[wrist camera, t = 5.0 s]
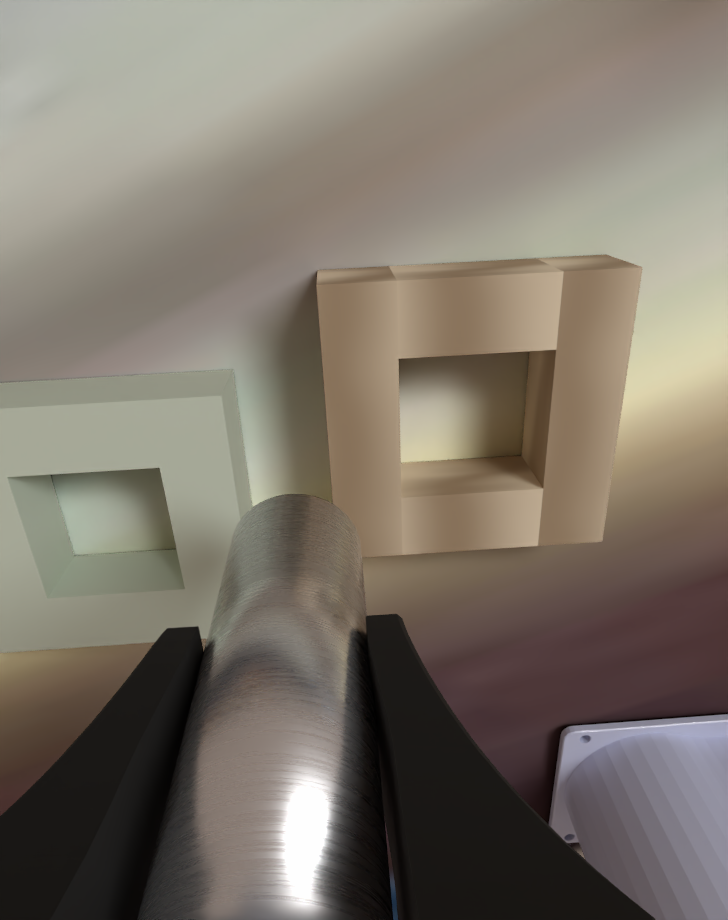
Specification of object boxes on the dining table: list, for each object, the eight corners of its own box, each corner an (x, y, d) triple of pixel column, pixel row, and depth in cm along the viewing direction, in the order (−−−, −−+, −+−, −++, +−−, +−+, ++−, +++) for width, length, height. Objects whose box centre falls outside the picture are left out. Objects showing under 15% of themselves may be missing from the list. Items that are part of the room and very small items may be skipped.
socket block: (606, 254, 19) (642, 267, 17) (575, 504, 23) (602, 541, 21) (317, 270, 19) (316, 284, 17) (336, 520, 23) (337, 559, 21)
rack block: (233, 369, 20) (221, 395, 18) (264, 591, 24) (257, 635, 22) (-47, 385, 20) (-94, 414, 18) (30, 606, 24) (0, 653, 22)
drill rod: (360, 491, 15) (400, 893, 7) (361, 600, 16) (395, 1038, 8) (224, 495, 15) (100, 911, 7) (237, 604, 16) (147, 1056, 8)
